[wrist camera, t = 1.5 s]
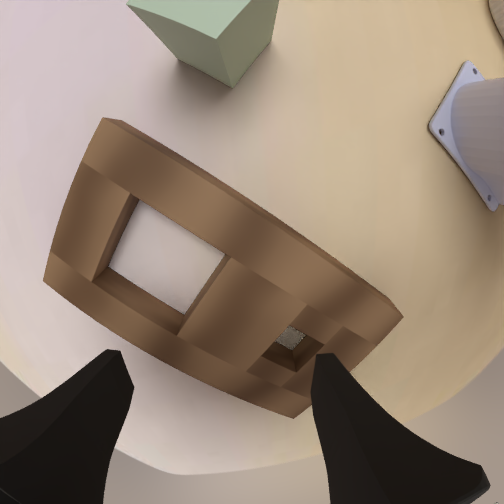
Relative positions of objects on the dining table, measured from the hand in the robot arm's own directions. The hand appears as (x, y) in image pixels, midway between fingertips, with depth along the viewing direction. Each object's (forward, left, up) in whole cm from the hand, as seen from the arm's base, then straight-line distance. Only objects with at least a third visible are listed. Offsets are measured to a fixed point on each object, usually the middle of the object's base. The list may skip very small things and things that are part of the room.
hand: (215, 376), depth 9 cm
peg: (+8, -11, -9) cm, 17 cm away
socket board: (0, +2, -9) cm, 10 cm away
